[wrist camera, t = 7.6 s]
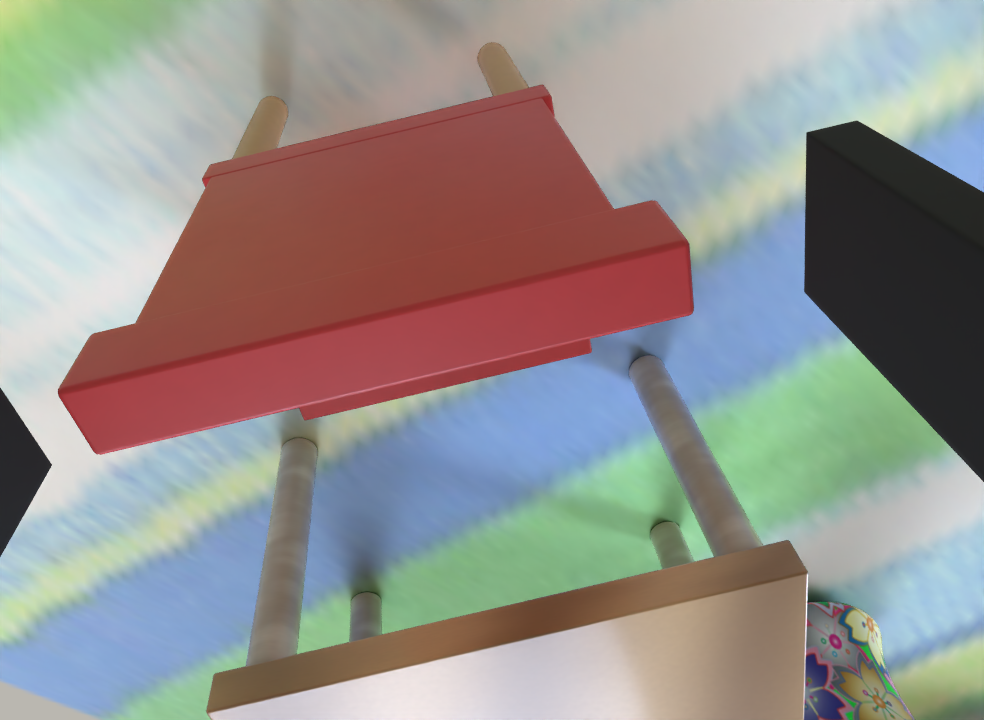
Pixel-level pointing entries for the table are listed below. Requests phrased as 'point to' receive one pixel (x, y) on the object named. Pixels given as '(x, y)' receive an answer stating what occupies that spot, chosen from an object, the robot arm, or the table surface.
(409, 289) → the chair
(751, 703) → the side table
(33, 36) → the table surface
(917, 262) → the robot arm
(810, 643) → the mug
